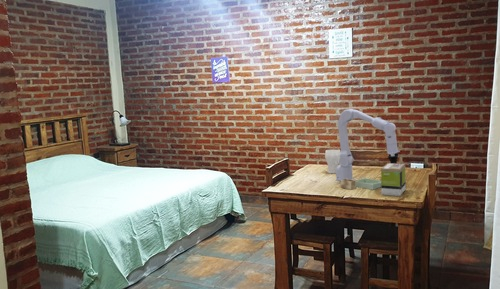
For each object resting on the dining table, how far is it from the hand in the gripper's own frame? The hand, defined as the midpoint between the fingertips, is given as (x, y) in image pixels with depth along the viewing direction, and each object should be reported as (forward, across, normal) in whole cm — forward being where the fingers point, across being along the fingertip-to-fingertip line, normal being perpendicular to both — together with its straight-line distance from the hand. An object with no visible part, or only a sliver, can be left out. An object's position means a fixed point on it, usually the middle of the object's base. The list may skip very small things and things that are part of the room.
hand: (394, 166), depth 250 cm
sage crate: (+9, -7, +15) cm, 19 cm away
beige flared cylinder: (+5, +30, +41) cm, 51 cm away
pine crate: (+8, -13, +26) cm, 30 cm away
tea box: (+11, -19, +2) cm, 22 cm away
